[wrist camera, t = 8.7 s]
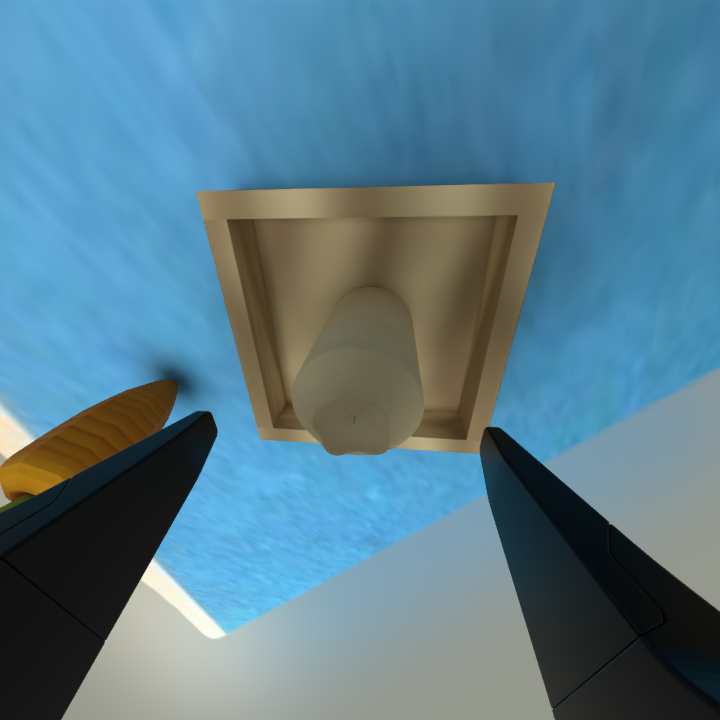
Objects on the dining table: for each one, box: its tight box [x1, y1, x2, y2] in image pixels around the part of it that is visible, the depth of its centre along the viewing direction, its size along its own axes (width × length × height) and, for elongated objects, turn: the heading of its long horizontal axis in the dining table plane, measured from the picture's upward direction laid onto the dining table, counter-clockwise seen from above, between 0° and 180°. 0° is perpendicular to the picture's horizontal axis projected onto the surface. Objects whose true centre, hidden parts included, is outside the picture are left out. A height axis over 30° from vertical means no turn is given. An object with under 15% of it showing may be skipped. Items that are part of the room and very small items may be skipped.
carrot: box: [0, 379, 178, 513], centre depth 18 cm, size 5×5×15 cm
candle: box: [292, 287, 424, 456], centre depth 15 cm, size 6×6×10 cm
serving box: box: [196, 183, 556, 454], centre depth 18 cm, size 16×16×4 cm
